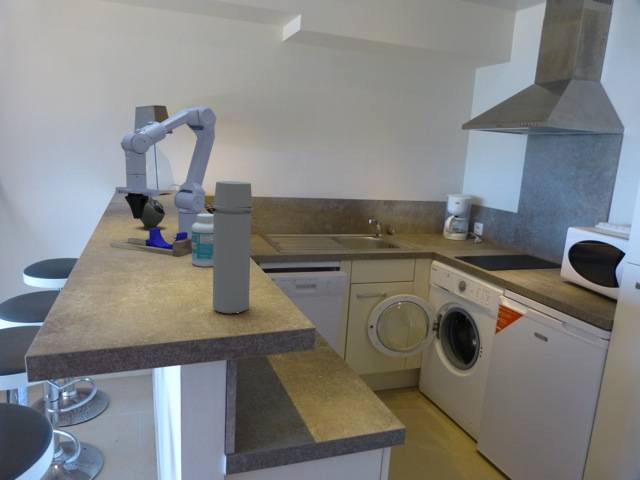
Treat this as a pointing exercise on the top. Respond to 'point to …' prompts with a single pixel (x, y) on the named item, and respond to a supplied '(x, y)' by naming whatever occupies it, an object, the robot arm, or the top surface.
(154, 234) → the blue cradle block
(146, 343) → the top surface
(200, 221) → the pill bottle
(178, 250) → the guide channel
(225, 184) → the water bottle
